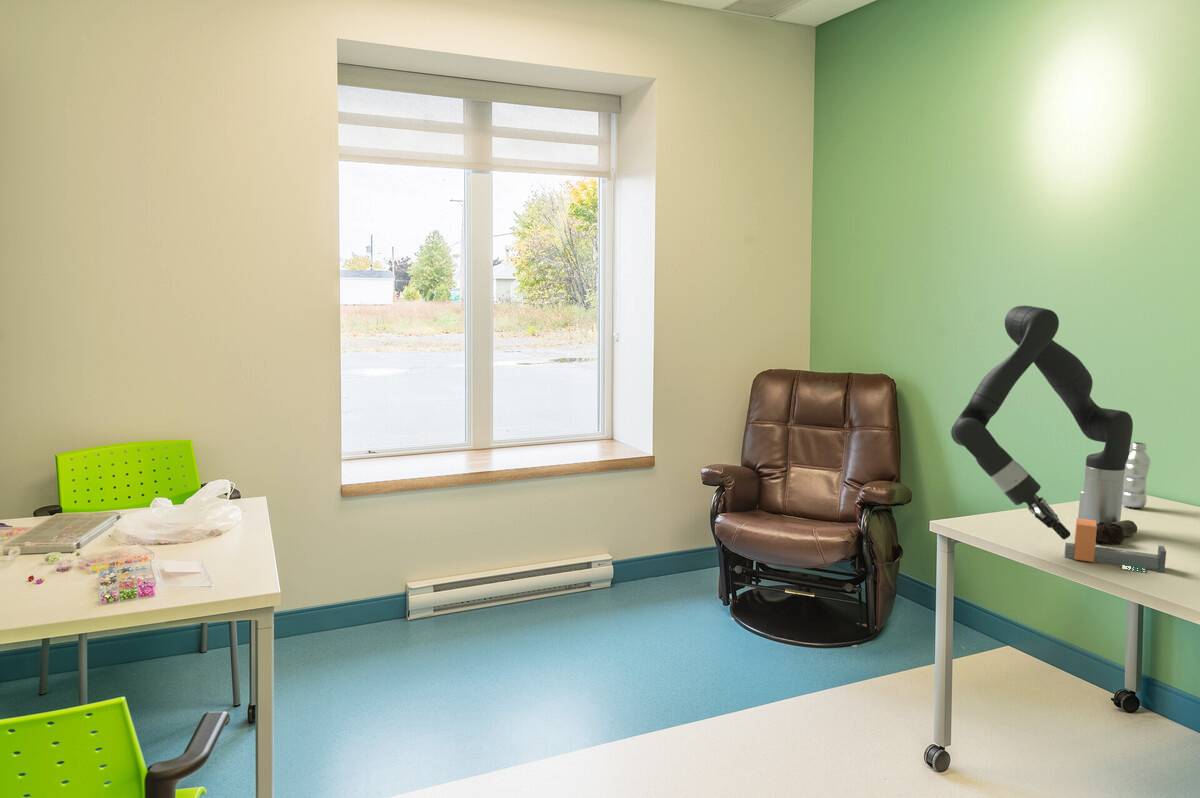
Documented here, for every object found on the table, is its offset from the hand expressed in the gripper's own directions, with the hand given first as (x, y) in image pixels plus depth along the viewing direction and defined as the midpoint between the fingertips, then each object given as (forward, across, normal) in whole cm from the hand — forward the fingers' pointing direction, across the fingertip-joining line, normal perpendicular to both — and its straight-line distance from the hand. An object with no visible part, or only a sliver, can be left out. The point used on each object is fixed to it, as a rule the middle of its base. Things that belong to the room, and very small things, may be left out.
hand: (1067, 536), depth 198 cm
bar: (+10, 0, -4) cm, 11 cm away
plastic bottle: (+17, +67, -10) cm, 70 cm away
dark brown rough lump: (+12, +22, -4) cm, 26 cm away
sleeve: (+6, 0, +1) cm, 6 cm away
